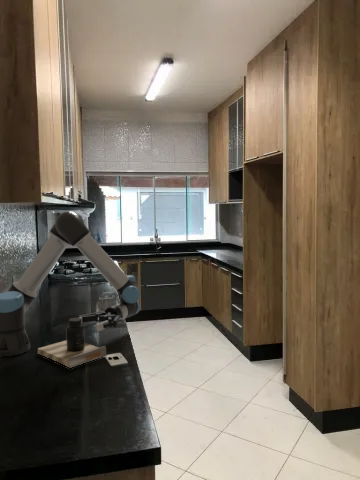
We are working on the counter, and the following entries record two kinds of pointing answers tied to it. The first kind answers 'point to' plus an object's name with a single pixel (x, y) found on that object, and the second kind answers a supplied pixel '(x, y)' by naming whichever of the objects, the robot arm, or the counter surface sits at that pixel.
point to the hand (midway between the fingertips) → (83, 326)
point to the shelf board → (71, 353)
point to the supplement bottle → (75, 335)
